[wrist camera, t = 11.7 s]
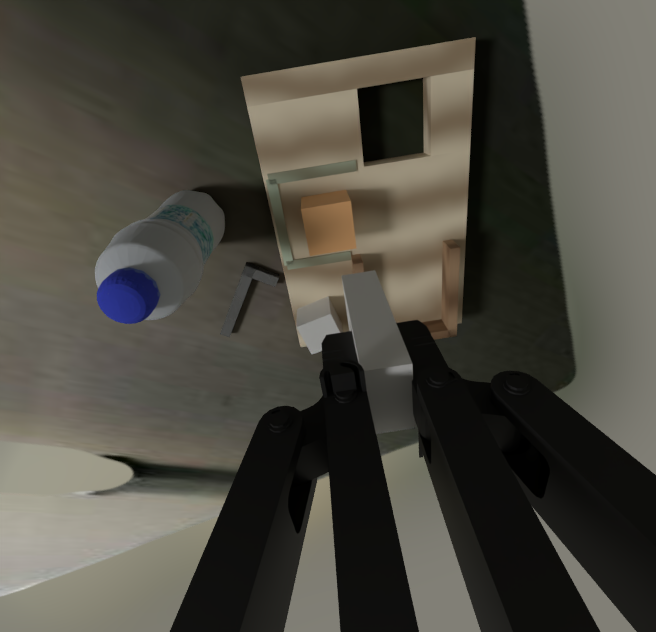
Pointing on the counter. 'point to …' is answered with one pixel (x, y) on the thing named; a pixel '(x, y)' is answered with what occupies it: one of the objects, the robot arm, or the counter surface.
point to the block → (317, 323)
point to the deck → (368, 174)
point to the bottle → (159, 258)
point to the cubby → (449, 290)
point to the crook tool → (247, 275)
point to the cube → (328, 222)
